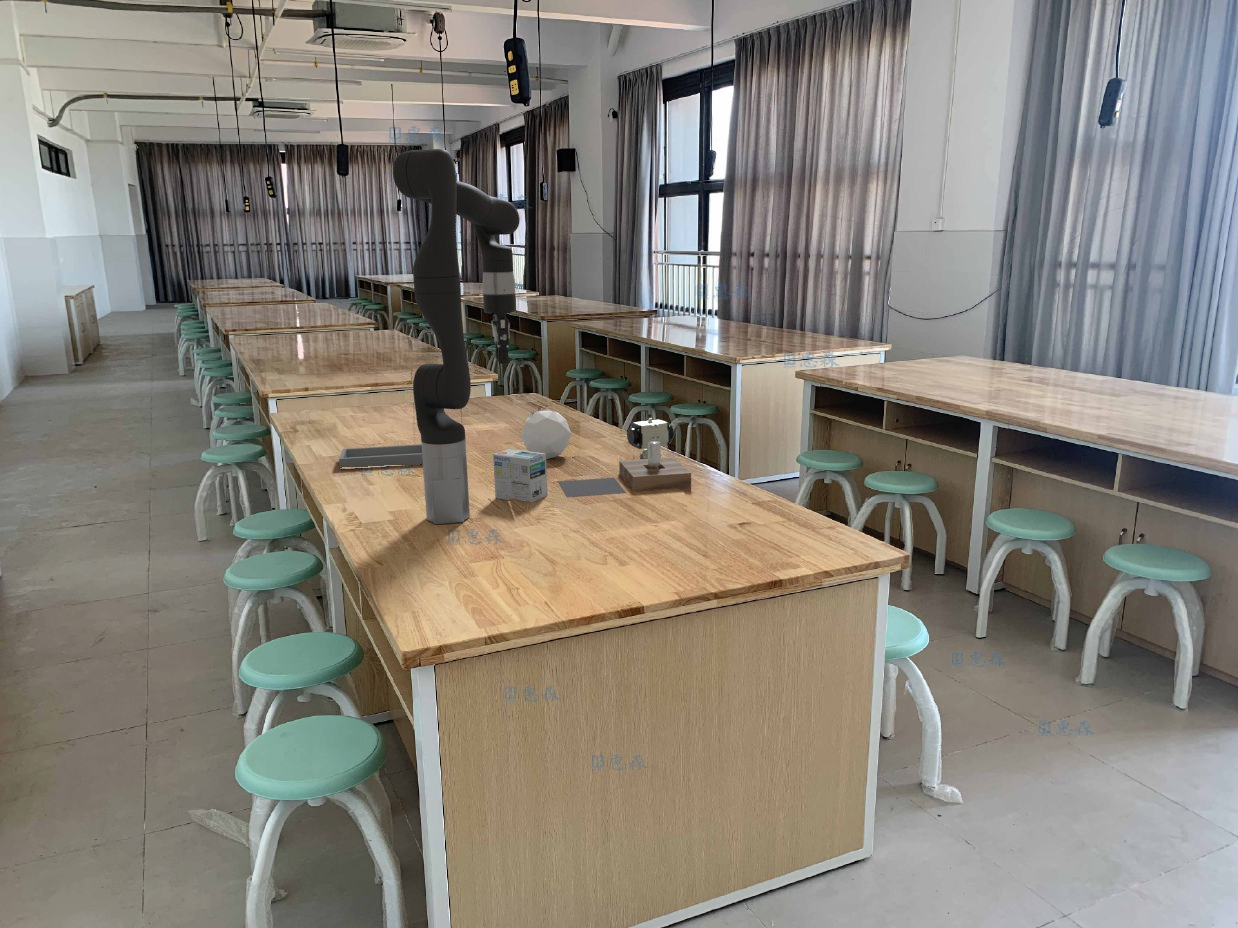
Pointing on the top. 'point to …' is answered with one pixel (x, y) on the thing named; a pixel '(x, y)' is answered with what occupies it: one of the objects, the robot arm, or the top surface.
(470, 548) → the top surface
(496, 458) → the light bulb box
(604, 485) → the rubber mat
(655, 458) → the steel peg
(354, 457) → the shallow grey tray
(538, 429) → the geodesic sphere
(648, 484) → the hole block
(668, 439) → the pneumatic valve
